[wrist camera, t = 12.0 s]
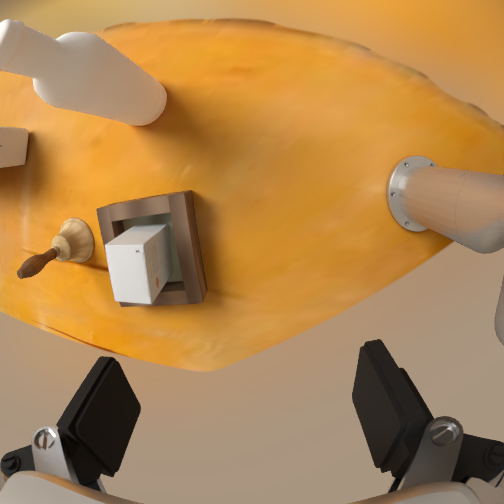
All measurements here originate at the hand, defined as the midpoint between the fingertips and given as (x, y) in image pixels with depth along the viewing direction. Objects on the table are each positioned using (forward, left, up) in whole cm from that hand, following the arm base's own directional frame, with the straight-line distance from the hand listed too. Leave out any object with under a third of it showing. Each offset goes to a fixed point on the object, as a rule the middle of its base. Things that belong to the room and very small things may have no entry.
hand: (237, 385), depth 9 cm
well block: (+15, +3, -32) cm, 36 cm away
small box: (+15, +3, -32) cm, 35 cm away
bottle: (+14, -20, -32) cm, 41 cm away
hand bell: (+31, 0, -33) cm, 45 cm away
